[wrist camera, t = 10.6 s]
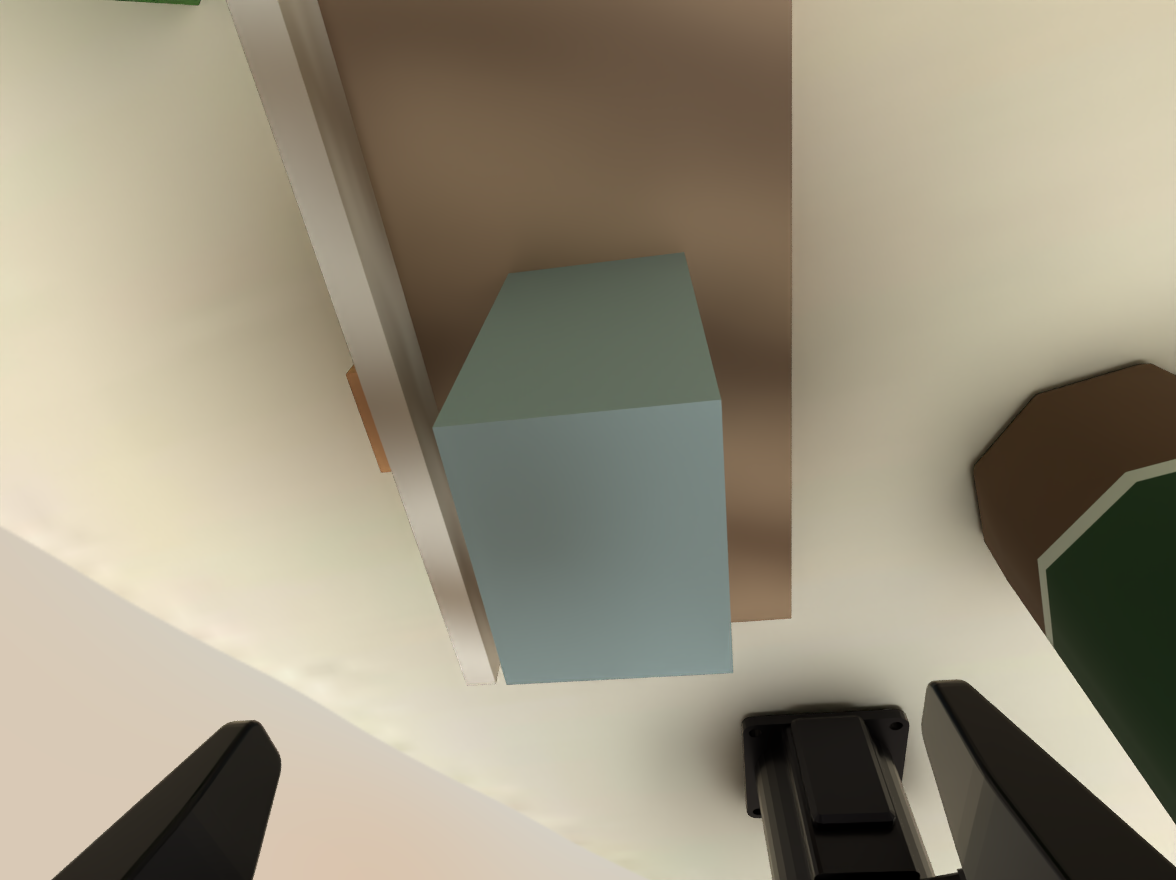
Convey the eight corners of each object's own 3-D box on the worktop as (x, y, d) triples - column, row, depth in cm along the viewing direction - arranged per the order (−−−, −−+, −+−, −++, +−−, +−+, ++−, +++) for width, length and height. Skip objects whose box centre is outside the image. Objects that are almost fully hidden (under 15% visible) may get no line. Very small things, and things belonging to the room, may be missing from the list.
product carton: (683, 252, 17) (721, 399, 10) (697, 454, 20) (733, 672, 13) (504, 273, 18) (425, 427, 11) (543, 467, 21) (501, 685, 14)
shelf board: (782, 587, 25) (804, 664, 22) (475, 610, 26) (455, 686, 23) (777, -113, 15) (815, -151, 12) (277, -16, 16) (195, -27, 13)
